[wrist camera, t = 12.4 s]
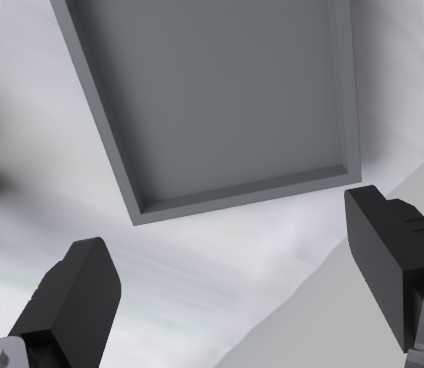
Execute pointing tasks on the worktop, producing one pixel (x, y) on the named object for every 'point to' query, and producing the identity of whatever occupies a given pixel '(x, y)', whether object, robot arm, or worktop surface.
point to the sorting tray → (217, 98)
